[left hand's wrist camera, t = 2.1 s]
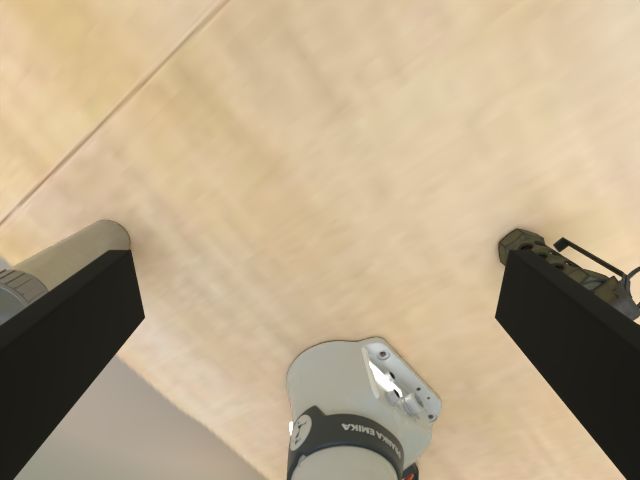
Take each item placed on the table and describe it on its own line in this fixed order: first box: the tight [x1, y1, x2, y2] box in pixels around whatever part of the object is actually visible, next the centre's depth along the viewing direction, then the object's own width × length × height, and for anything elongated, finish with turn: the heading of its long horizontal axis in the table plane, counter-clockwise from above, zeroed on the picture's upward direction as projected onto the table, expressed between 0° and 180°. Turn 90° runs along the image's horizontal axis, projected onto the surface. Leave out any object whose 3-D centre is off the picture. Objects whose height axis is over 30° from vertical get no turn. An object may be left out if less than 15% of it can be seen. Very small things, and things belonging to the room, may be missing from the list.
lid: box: [0, 269, 48, 325], centre depth 28 cm, size 5×5×2 cm
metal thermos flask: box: [8, 220, 130, 292], centre depth 35 cm, size 5×5×16 cm
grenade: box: [499, 229, 640, 321], centre depth 35 cm, size 9×6×15 cm, turn 134°
